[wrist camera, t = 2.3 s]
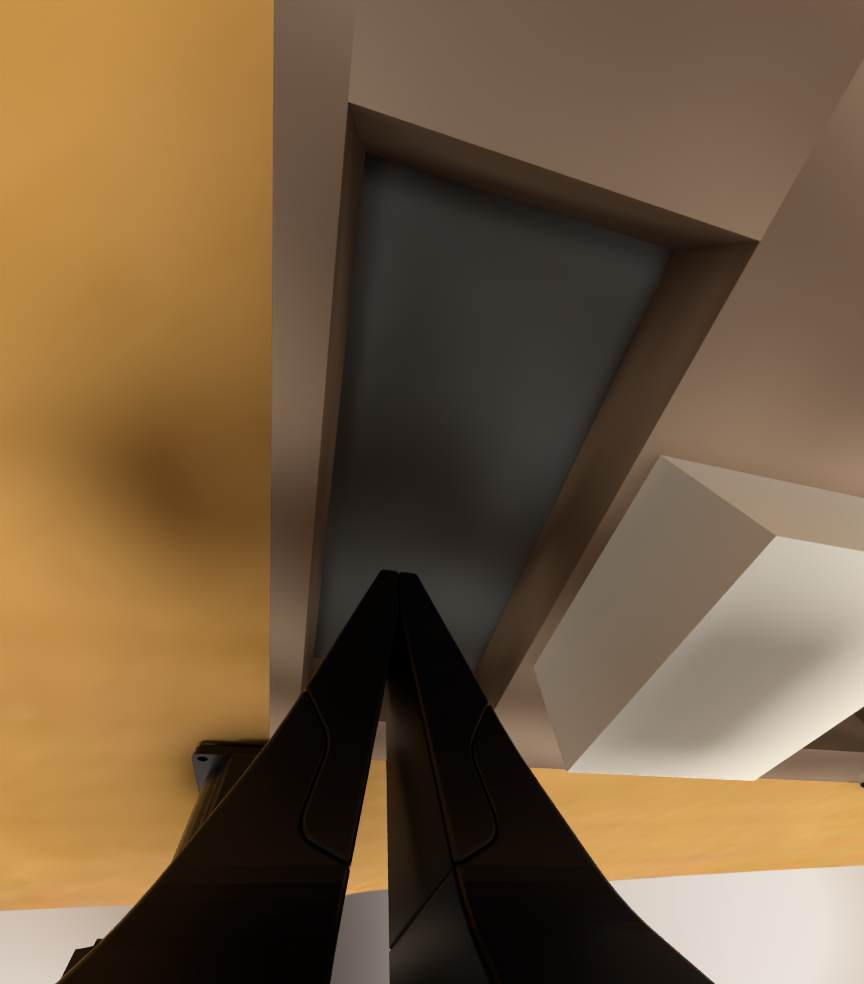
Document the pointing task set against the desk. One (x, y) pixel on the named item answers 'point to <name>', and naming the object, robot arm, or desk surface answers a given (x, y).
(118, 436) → the desk surface
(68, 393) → the desk surface
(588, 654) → the cream block
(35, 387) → the desk surface
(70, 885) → the desk surface
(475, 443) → the trap deck
